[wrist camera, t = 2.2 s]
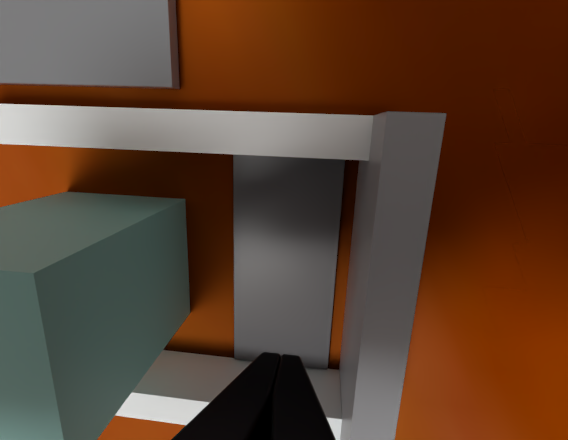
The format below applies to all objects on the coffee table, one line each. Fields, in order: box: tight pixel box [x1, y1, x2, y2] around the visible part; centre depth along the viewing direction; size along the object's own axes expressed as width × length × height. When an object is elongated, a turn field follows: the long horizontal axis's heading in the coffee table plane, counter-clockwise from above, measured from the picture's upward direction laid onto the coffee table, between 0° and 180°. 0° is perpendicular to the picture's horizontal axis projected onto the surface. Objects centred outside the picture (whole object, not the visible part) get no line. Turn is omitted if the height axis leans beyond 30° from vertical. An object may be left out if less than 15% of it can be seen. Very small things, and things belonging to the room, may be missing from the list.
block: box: [0, 192, 190, 440], centre depth 10 cm, size 5×5×7 cm
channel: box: [0, 104, 446, 440], centre depth 11 cm, size 15×11×4 cm
